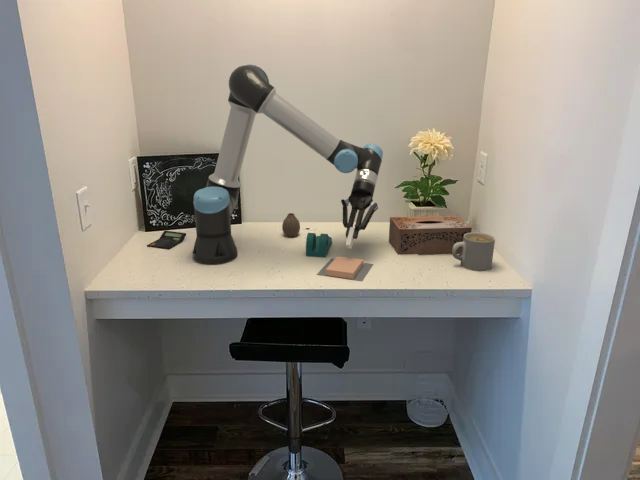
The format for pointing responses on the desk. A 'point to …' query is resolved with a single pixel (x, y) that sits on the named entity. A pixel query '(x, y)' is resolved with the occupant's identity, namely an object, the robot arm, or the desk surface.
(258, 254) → the desk surface
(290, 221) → the vase
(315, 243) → the bracket
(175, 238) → the calculator
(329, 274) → the tile
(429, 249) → the tissue box cover
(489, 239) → the coffee mug
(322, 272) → the mat
